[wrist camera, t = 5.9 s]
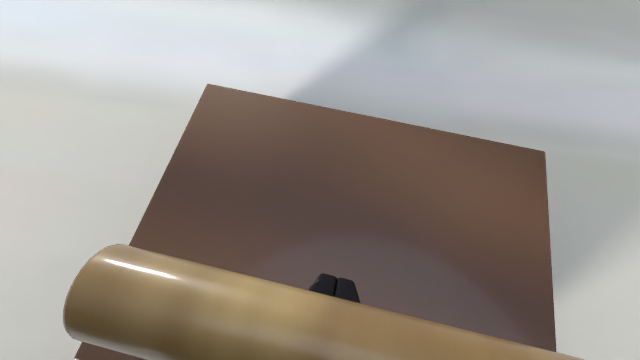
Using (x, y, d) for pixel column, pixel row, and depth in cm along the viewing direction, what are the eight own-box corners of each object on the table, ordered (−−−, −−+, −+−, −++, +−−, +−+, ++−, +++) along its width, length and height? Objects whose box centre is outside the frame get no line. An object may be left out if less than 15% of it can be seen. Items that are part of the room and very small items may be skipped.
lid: (545, 487, 9) (1093, 832, 3) (89, 358, 10) (-284, 387, 4) (533, 161, 14) (734, -3, 7) (212, 95, 15) (132, -98, 8)
